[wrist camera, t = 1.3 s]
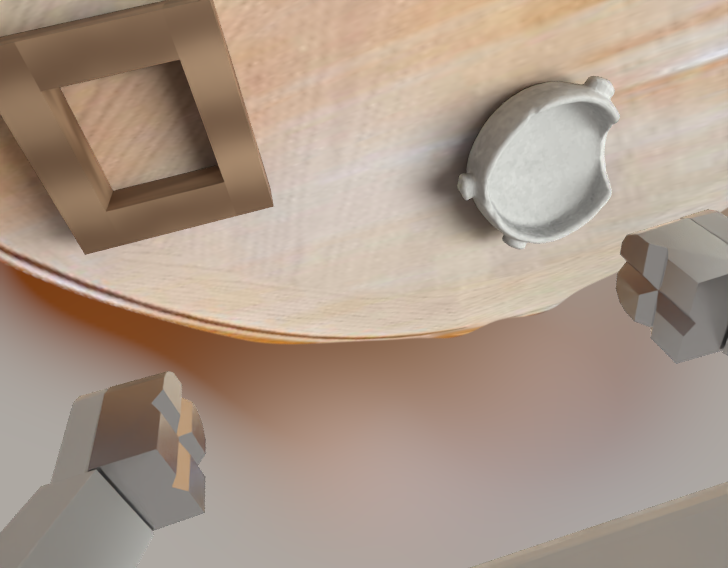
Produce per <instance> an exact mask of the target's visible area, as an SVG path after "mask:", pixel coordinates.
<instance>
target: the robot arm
mask: <svg viewBox="0 0 728 568" xmlns="http://www.w3.org/2000/svg"><path fill="white" fill-rule="evenodd" d="M620 255H621V256H622V257H623V258H624V259H625V260H626V263H625V264H624V265H623V267H622V268H621V269H620V271H619V272H618V273H617V281H616V291H617V295H618V298H619V302H620V304H621V305H622V307H623V309H624V310H625V312H626V313H627V314H628V315H629V316H630V317H631V318H632V319H633V321H635V322H637V323H640V324H643V325H646V326H648V327H650V329H651V330H650V332H651V339H652V340H653V341H654V342H655V343H656V344H657V345H658V346H659V347H660V348H661V349H662V350H663V351H664V352H665V353H666V354H667V355H668V356H669V357H670V358H671V359H672V360H673V361H674V362H675V363H676V364H677V363H680V362H684V361H688V360H691V359H694V358H698V357H702V356H705V355H708V354H712V353H715V352H719V351H722V350H723V353H724V354H726V355H728V217H726V216H725V215H723V214H722V213H720V212H718V211H714V210H709V209H707V210H704V211H701V212H698V213H694V214H691V215H688V216H685V217H682V218H680V219H678V220H674V221H670V222H667V223H664V224H660V225H657V226H654V227H651V228H647V229H644V230H641V231H638V232H634V233H631V234H628V235H626V237H625V239H624V240H623V242H622V245H621V251H620ZM181 395H182V384H181V383H180V382H179V380H178V379H177V377H176V376H175V374H174V373H173V372H168V371H167V372H164V373H160V374H156V375H153V376H149V377H145V378H142V379H138V380H134V381H131V382H127V383H124V384H120V385H116V386H112V387H110V388H108V389H104V390H100V391H96V392H93V393H89V394H86V395H82V396H79V397H78V398H77V399H76V400H75V401H74V403H73V405H72V409H71V412H70V416H69V419H68V422H67V426H66V430H65V433H64V437H63V441H62V444H61V447H60V451H59V455H58V458H57V462H56V466H55V469H54V472H53V476H52V479H51V483H50V484H47V485H44V486H41V487H40V488H39V489H38V490H37V491H36V493H35V494H34V495H33V496H32V497H31V498H30V499H29V500H28V502H27V503H26V504H25V505H24V506H23V507H22V508H21V510H20V511H19V512H18V513H17V514H16V515H15V516H14V518H13V519H12V520H11V521H10V522H9V523H8V525H7V526H6V527H5V528H4V529H3V530H2V531H1V533H0V568H136V567H137V565H138V563H139V562H140V560H141V558H142V556H143V554H144V552H145V550H146V548H147V547H148V545H149V543H150V541H151V539H152V537H153V535H154V532H153V531H154V530H157V529H160V528H162V527H165V526H168V525H171V524H174V523H177V522H180V521H183V520H186V519H189V518H191V517H194V516H197V515H200V514H203V513H205V476H204V474H203V473H202V471H201V470H200V468H199V467H198V465H199V463H200V462H201V460H202V459H203V457H204V456H205V454H206V439H205V434H204V428H203V423H202V421H201V418H200V415H199V413H198V411H197V409H196V407H195V406H194V404H193V402H191V401H188V400H186V399H184V398H181ZM470 568H728V482H725V483H722V484H719V485H716V486H713V487H710V488H707V489H704V490H701V491H698V492H695V493H692V494H689V495H686V496H683V497H680V498H677V499H674V500H671V501H668V502H665V503H662V504H659V505H656V506H653V507H650V508H647V509H644V510H641V511H638V512H635V513H632V514H629V515H626V516H623V517H620V518H617V519H614V520H611V521H608V522H605V523H602V524H599V525H596V526H593V527H590V528H587V529H584V530H581V531H578V532H575V533H572V534H569V535H566V536H563V537H560V538H557V539H554V540H551V541H548V542H545V543H542V544H539V545H536V546H533V547H530V548H527V549H524V550H521V551H518V552H515V553H512V554H509V555H506V556H503V557H500V558H497V559H494V560H491V561H488V562H485V563H482V564H479V565H476V566H473V567H470Z"/></svg>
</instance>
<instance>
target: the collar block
mask: <svg viewBox="0 0 728 568" xmlns="http://www.w3.org/2000/svg"><path fill="white" fill-rule="evenodd" d="M176 60H180V61H181V64H182V67H183V69H184V72H185V75H186V78H187V80H188V83H189V86H190V89H191V91H192V94H193V97H194V100H195V102H196V105H197V108H198V111H199V113H200V116H201V119H202V122H203V124H204V127H205V130H206V133H207V135H208V138H209V141H210V144H211V146H212V149H213V152H214V155H215V157H216V160H217V163H218V165H217V166H213V167H209V168H205V169H200V170H196V171H192V172H188V173H184V174H180V175H176V176H172V177H168V178H164V179H160V180H156V181H152V182H148V183H144V184H140V185H136V186H132V187H128V188H124V189H120V190H116V191H113V190H112V188H111V186H110V184H109V182H108V180H107V178H106V176H105V174H104V173H103V171H102V169H101V167H100V165H99V163H98V161H97V159H96V157H95V155H94V153H93V151H92V149H91V147H90V145H89V143H88V142H87V140H86V138H85V136H84V134H83V132H82V130H81V128H80V126H79V124H78V122H77V120H76V118H75V116H74V114H73V112H72V111H71V109H70V107H69V105H68V103H67V101H66V99H65V97H64V95H63V93H62V91H61V89H60V87H63V86H68V85H72V84H76V83H81V82H85V81H89V80H94V79H98V78H102V77H107V76H111V75H115V74H119V73H124V72H128V71H132V70H137V69H141V68H145V67H150V66H154V65H158V64H163V63H167V62H171V61H176ZM0 115H1V116H2V118H3V120H4V121H5V123H6V125H7V126H8V128H9V130H10V131H11V133H12V134H13V136H14V138H15V139H16V141H17V143H18V144H19V146H20V148H21V149H22V151H23V153H24V154H25V156H26V158H27V159H28V161H29V163H30V164H31V166H32V168H33V169H34V171H35V173H36V174H37V176H38V177H39V179H40V181H41V182H42V184H43V186H44V187H45V189H46V191H47V192H48V194H49V196H50V197H51V199H52V201H53V202H54V204H55V206H56V207H57V209H58V211H59V212H60V214H61V216H62V217H63V219H64V221H65V222H66V224H67V225H68V227H69V229H70V230H71V232H72V234H73V235H74V237H75V239H76V240H77V242H78V244H79V245H80V247H81V249H82V250H83V252H84V254H85V255H86V254H90V253H94V252H98V251H101V250H105V249H109V248H113V247H117V246H121V245H125V244H129V243H133V242H137V241H140V240H144V239H148V238H152V237H156V236H160V235H164V234H168V233H172V232H176V231H179V230H183V229H187V228H191V227H195V226H199V225H203V224H207V223H211V222H215V221H218V220H222V219H226V218H230V217H234V216H238V215H242V214H246V213H250V212H254V211H258V210H261V209H265V208H269V207H273V200H272V195H271V190H270V185H269V182H268V179H267V176H266V172H265V169H264V166H263V162H262V159H261V156H260V153H259V149H258V146H257V143H256V140H255V136H254V133H253V130H252V126H251V123H250V120H249V117H248V113H247V110H246V107H245V104H244V100H243V97H242V94H241V91H240V87H239V84H238V81H237V77H236V74H235V71H234V68H233V64H232V61H231V58H230V55H229V51H228V48H227V45H226V41H225V38H224V35H223V32H222V28H221V25H220V22H219V19H218V15H217V12H216V9H215V5H214V2H213V0H166V1H161V2H157V3H152V4H148V5H143V6H139V7H134V8H130V9H125V10H121V11H116V12H112V13H107V14H103V15H98V16H94V17H89V18H85V19H80V20H75V21H71V22H66V23H62V24H57V25H53V26H48V27H44V28H39V29H35V30H30V31H26V32H21V33H17V34H12V35H8V36H3V37H0Z"/></svg>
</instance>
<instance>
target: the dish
mask: <svg viewBox="0 0 728 568" xmlns="http://www.w3.org/2000/svg"><path fill="white" fill-rule="evenodd" d="M614 91H615V90H614V87H613V85H612V84H611V82H610V81H609V80H607V79H604V78H602V77H598V76H591V77H589V78H588V79H587V80H586V82H585V83H584V84H582V85H580V84H573V83H567V82H547V83H541V84H538V85H534V86H531V87H529V88H527V89H524V90H522V91H521V92H519V93H517V94H516V95H514V96H512V97H511V98H510V99H508V100H507V101H506V102H504V103H503V104H502V105H501V106H500V107H499V108H498V109H497V110H496V111H495V112H494V113H493V114H492V115H491V116H490V117H489V119H488V120H487V121H486V123H485V124H484V126H483V127H482V129H481V130H480V132H479V134H478V136H477V138H476V140H475V142H474V144H473V146H472V149H471V151H470V154H469V158H468V162H467V173H462V174H461V175H460V176H459V180H458V185H457V188H458V190H459V191H460V193H461V194H462V196H463V199H465V200H469V199H471V198H473V200H474V202H475V204H476V206H477V207H478V209H479V210H480V212H481V213H482V214H483V216H484V217H485V218H486V219H487V220H488V221H489V222H490V223H491V224H492V225H493V226H494V227H495V228H496V229H498V230H499V231H500V232H502V233H503V234H504V235H503V238H502V239H503V241H504V242H505V243H506V244H508V245H509V246H511V247H513V248H516V249H524V248H525V246H526V243H527V242H529V243H538V244H540V243H548V242H552V241H555V240H558V239H560V238H563V237H565V236H567V235H569V234H571V233H572V232H574V231H576V230H577V229H579V228H581V227H582V226H583V225H585V224H586V223H587V222H588V221H590V220H591V219H592V218H593V217H594V216H595V215H596V214H597V213H598V212H599V210H600V209H601V208H602V207H603V206H604V205H605V204H606V203H607V201H608V200H609V198H610V196H611V194H612V190H611V185H610V182H609V179H608V176H607V173H606V166H605V158H604V148H605V142H606V136H607V133H608V131H609V129H610V128H611V126H612V125H613V124H615V123H617V122H618V120H619V118H620V115H619V113H618V111H617V109H616V107H615V106H614V105H613V103H612V102H611V100H610V99H611V97H612V96H613V94H614Z"/></svg>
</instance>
